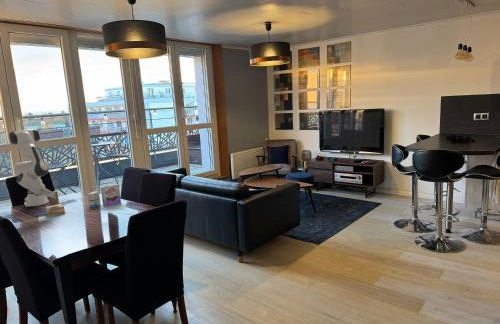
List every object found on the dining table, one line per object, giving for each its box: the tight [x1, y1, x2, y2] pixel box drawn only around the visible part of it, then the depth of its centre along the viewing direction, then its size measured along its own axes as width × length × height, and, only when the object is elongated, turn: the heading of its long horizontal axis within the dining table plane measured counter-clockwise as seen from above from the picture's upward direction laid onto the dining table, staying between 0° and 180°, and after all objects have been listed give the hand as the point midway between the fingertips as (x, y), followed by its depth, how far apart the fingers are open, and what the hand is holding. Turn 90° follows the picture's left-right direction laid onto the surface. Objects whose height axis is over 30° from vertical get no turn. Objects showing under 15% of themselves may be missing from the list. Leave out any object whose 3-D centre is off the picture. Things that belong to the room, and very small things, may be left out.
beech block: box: [45, 203, 66, 218], centre depth 269 cm, size 11×11×6 cm
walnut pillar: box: [48, 190, 60, 206], centre depth 267 cm, size 5×5×10 cm
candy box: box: [100, 183, 122, 207], centre depth 285 cm, size 14×6×16 cm, turn 120°
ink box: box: [87, 191, 101, 208], centre depth 283 cm, size 9×5×12 cm, turn 168°
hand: (54, 197), depth 268 cm, fingers closed on walnut pillar, 5 cm apart
